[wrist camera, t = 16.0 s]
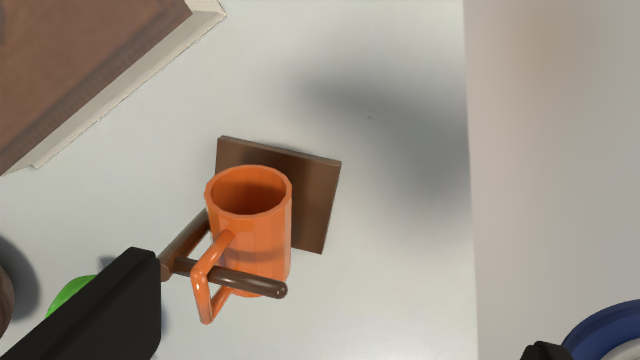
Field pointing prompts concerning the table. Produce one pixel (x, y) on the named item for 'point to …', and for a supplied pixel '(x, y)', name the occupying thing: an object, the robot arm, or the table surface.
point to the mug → (244, 231)
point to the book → (82, 64)
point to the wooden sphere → (5, 301)
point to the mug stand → (306, 214)
